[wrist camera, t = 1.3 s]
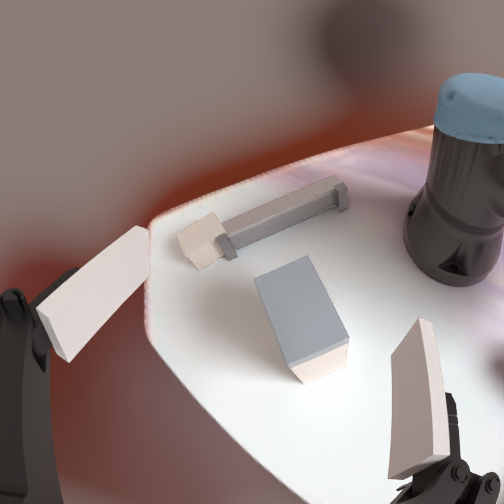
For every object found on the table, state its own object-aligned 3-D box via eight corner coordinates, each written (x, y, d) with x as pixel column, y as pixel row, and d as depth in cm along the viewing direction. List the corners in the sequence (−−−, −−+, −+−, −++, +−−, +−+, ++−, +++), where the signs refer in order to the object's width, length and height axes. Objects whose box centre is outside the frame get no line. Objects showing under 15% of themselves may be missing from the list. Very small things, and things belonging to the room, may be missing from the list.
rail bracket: (331, 187, 44) (329, 166, 41) (348, 208, 41) (346, 187, 38) (220, 235, 45) (209, 217, 42) (228, 260, 42) (217, 243, 38)
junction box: (224, 230, 45) (213, 211, 42) (236, 249, 43) (225, 230, 39) (189, 252, 45) (175, 235, 41) (198, 272, 42) (184, 255, 39)
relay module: (318, 307, 34) (307, 255, 25) (345, 366, 29) (349, 336, 20) (280, 324, 34) (253, 278, 25) (304, 384, 30) (286, 364, 20)
